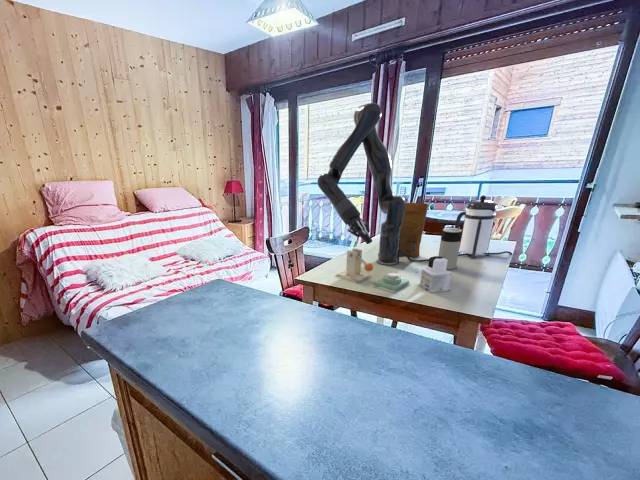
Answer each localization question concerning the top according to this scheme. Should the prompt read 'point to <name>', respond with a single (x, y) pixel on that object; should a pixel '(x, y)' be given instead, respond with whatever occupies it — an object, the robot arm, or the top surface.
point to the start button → (392, 276)
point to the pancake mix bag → (413, 228)
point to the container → (436, 275)
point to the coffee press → (477, 226)
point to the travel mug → (450, 246)
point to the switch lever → (364, 263)
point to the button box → (391, 283)
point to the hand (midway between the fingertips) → (370, 242)
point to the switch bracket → (353, 266)
